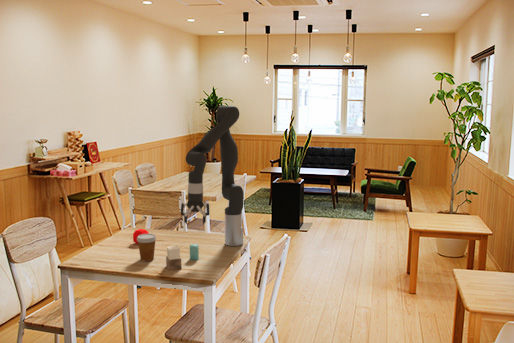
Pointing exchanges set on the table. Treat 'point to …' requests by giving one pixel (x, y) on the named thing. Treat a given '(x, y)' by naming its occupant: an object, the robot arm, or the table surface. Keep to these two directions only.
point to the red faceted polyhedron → (139, 232)
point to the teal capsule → (194, 252)
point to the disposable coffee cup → (146, 246)
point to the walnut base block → (173, 264)
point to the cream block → (173, 252)
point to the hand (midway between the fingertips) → (194, 223)
